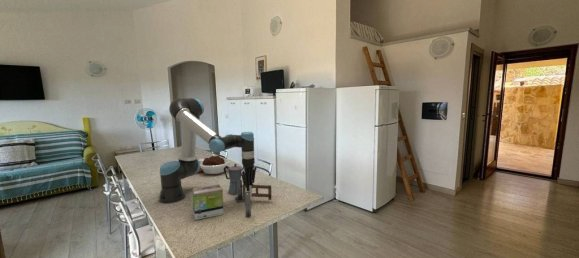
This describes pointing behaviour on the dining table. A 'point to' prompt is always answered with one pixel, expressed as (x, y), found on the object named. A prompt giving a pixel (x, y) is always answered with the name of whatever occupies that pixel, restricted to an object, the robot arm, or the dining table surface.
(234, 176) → the moka pot
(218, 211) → the tea box
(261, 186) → the gate
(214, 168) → the bowl of brown food
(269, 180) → the dining table surface
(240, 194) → the gate posts
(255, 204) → the dining table surface
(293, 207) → the dining table surface
